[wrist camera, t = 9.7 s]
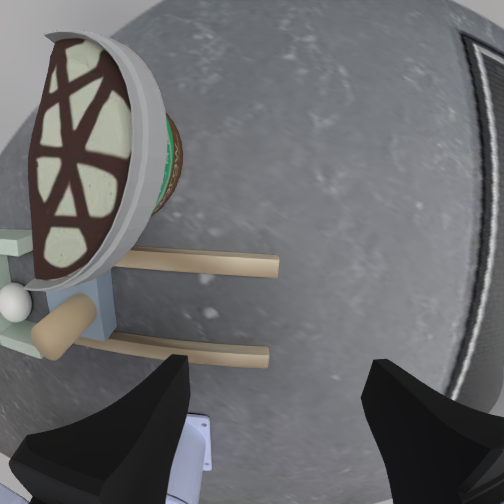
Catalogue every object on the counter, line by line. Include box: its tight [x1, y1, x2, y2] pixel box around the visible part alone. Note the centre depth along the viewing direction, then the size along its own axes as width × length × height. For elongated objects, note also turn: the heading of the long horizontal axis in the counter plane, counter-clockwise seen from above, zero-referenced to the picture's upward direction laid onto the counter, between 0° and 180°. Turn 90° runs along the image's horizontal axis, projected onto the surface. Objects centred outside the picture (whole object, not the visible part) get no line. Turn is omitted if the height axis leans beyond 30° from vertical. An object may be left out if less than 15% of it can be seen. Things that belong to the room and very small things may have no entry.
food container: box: [23, 30, 183, 291], centre depth 14 cm, size 12×6×10 cm, turn 173°
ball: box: [0, 283, 32, 323], centre depth 19 cm, size 4×4×4 cm
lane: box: [74, 246, 279, 368], centre depth 20 cm, size 8×18×1 cm, turn 86°
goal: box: [0, 229, 44, 359], centre depth 19 cm, size 10×7×4 cm, turn 176°
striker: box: [31, 269, 117, 360], centre depth 17 cm, size 5×5×8 cm
